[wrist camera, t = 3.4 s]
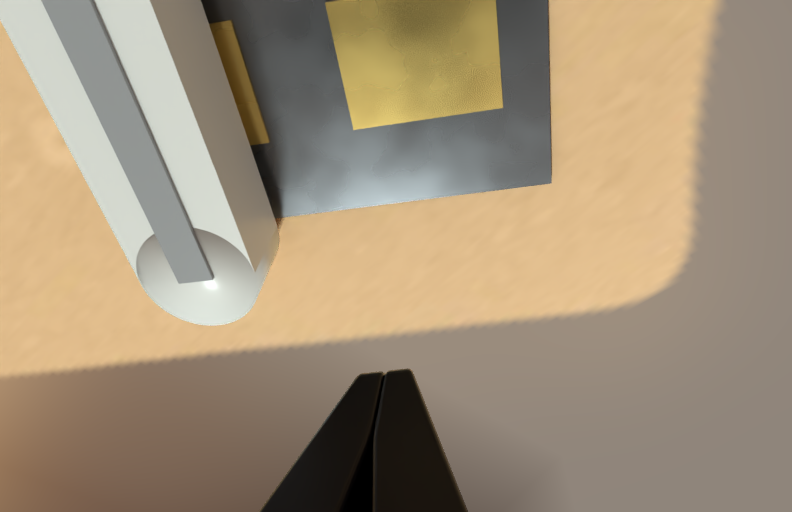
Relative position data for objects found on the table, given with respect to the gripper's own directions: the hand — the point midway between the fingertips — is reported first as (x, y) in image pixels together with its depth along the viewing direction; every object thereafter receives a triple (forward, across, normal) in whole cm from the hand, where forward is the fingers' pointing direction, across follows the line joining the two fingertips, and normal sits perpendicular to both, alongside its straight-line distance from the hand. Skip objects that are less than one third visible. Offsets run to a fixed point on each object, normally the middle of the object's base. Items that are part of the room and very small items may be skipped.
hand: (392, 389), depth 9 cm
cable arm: (+11, +7, -4) cm, 14 cm away
